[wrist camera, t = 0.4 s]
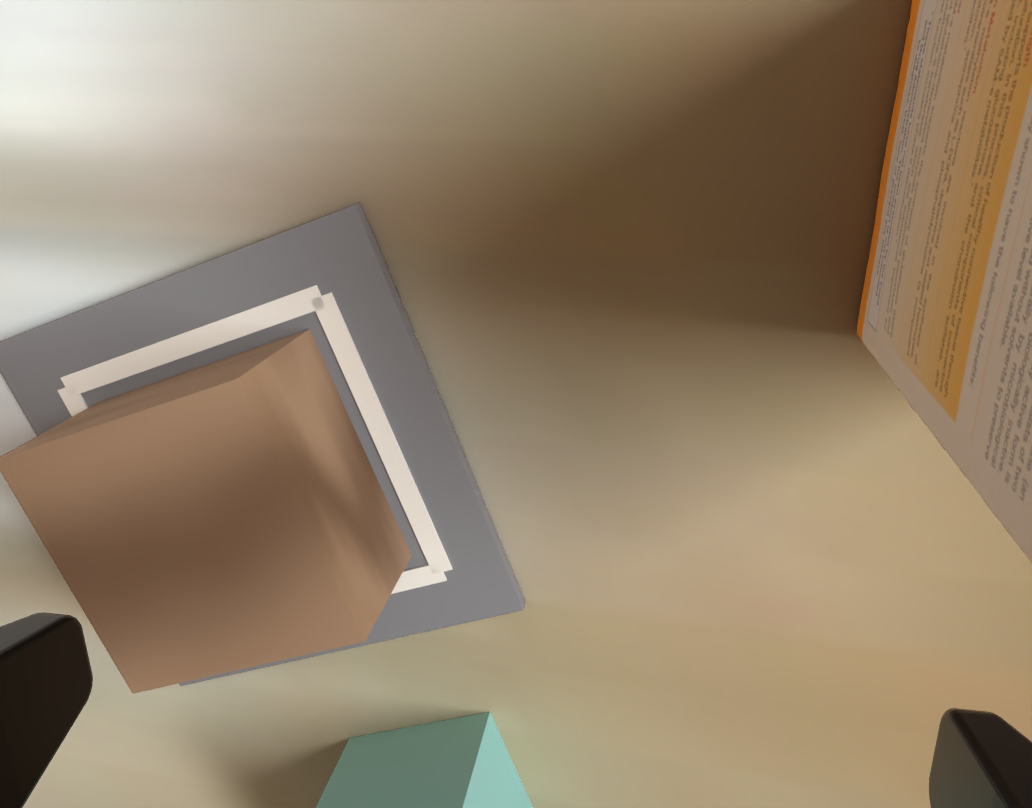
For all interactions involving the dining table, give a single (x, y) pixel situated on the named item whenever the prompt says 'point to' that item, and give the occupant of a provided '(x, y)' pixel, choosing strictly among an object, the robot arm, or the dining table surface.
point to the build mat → (353, 368)
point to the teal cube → (427, 768)
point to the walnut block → (216, 517)
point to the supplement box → (961, 245)
